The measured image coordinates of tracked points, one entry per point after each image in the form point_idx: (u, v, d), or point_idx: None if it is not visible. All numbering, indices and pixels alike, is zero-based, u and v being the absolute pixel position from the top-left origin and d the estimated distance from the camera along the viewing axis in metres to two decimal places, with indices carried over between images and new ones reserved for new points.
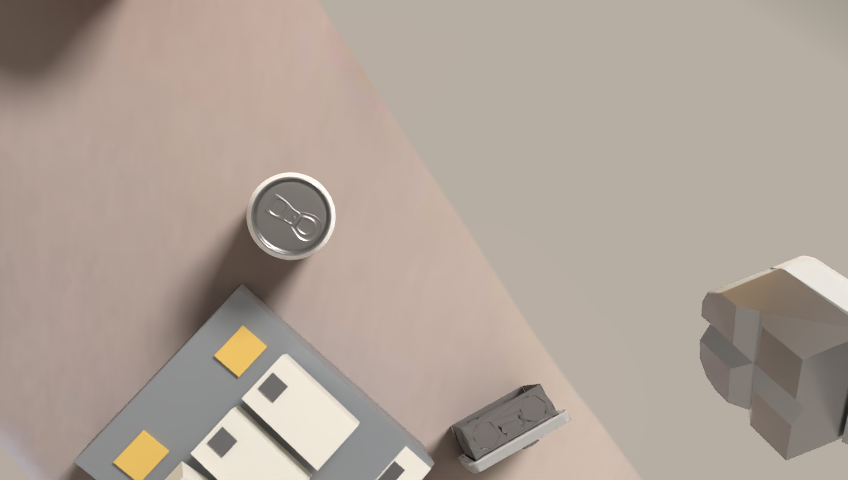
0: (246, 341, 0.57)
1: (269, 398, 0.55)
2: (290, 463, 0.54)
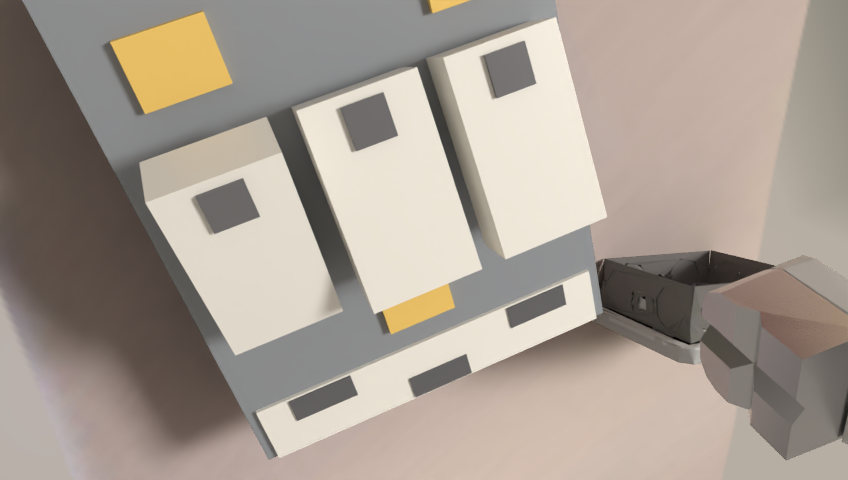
0: None
1: (492, 87, 0.26)
2: None
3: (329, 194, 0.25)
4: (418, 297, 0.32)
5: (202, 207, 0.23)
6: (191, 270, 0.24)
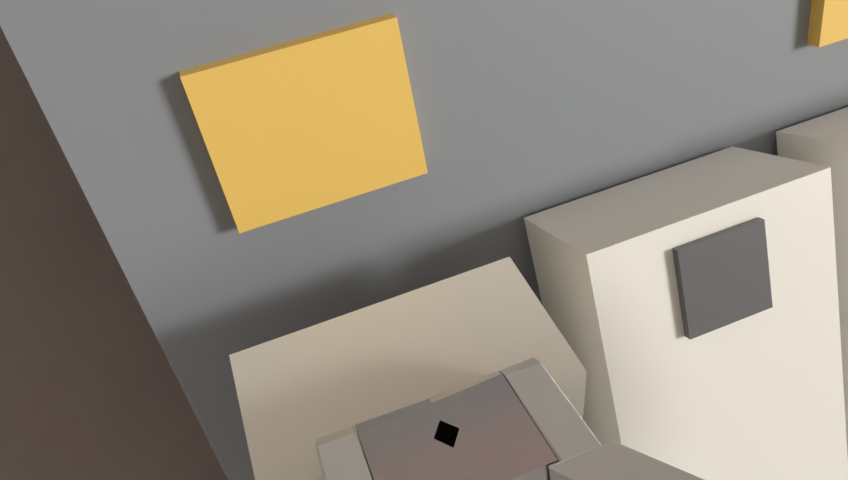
0: None
1: None
2: None
3: (619, 422, 0.12)
4: None
5: None
6: None
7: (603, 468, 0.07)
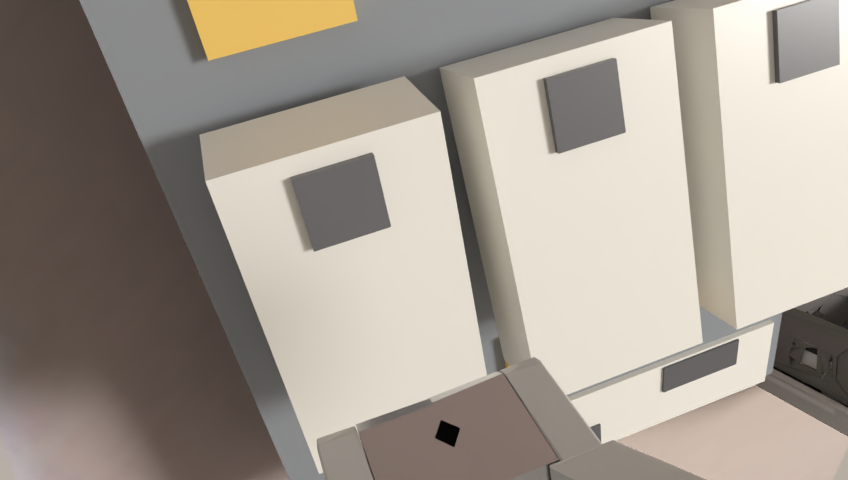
0: None
1: (774, 64, 0.16)
2: None
3: (504, 220, 0.15)
4: None
5: (299, 201, 0.13)
6: (267, 316, 0.14)
7: (604, 468, 0.07)
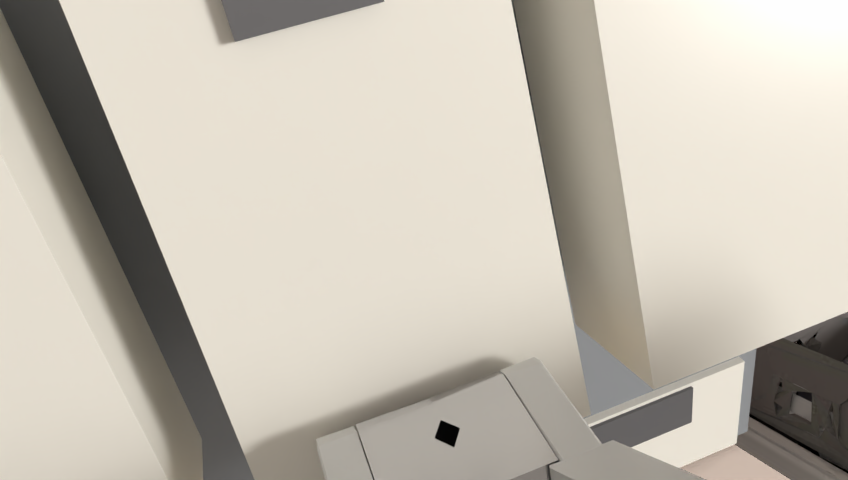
0: None
1: None
2: None
3: (138, 184, 0.07)
4: None
5: None
6: None
7: (605, 468, 0.07)
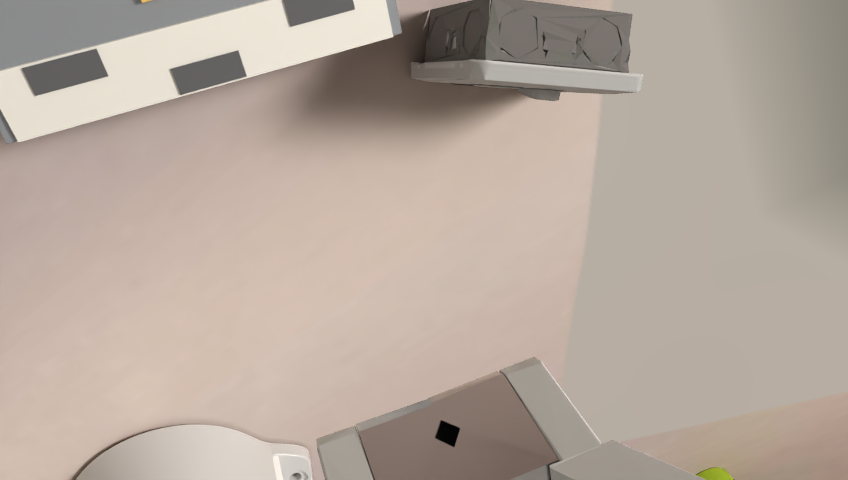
0: None
1: None
2: None
3: None
4: None
5: None
6: None
7: (605, 468, 0.07)
